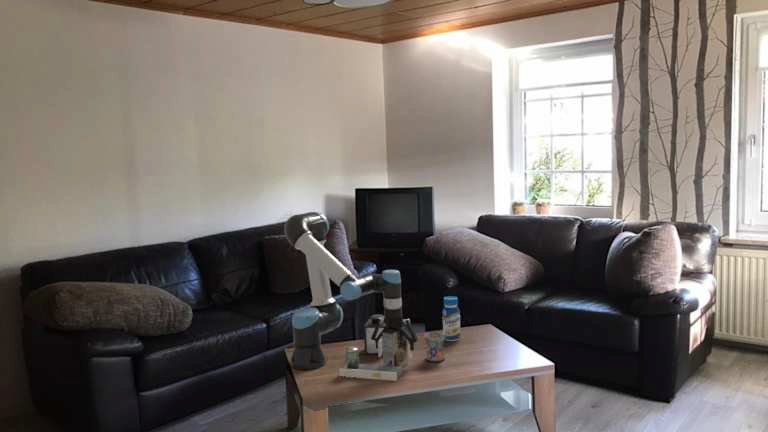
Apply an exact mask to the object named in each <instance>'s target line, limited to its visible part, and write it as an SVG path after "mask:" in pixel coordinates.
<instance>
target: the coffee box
mask: <svg viewBox="0 0 768 432" xmlns="http://www.w3.org/2000/svg"><path fill="white" fill-rule="evenodd" d="M404 328H405V330H406V331H407V329H406V328H407V327H404ZM382 346H383V355H382V360H383V361H382V363H383V365H382V366H393V367H403V368H404V366H407V365H408V343H407V339H406V337H405V336H404V335H403V334H402V332H401V331H399V330H398V329H397V330H394V329H392V330H391V329H389V328H388V329H387V330H383V331H382Z"/></svg>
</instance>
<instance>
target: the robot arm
mask: <svg viewBox="0 0 768 432" xmlns="http://www.w3.org/2000/svg"><path fill="white" fill-rule="evenodd" d="M283 229H284V231H283V233H284V235H285V238H286V239H287V241H288V242H289V244H290V245H291V246H292V247H294V249H296V250H300V251H301V252H302V253H303V254H305V259H306V266H307V272H308V277H309V283H310V284H309V285H310V291H311V295H312V301H311V303H310V305H309V306H310V307H305V308H301V309H298V310H296V311H295V312H294V313H293V314H292V316H291V317H292V318H291V319H292V321H291V325H292V337H293V339H292V340H293V350H292V354H291V358H290V367H291V368H293V369H295V368H296V370H301V369H308V370H314V369H313V368H315V369H318V367H319V368H321V367H323V366H325V365H326V364H325V363H327V359H326V358H327V357H326V353H325V351H324V349H323V346H322V339H321V337H322V336H323V335H325V334H327V333H329V332H332V331H335V330H336V329H337V328H339V327H340V326H341V324H342V323H343V320H344V312H343V308H342V307H341V306H340V305H339V304H338V303H337V300H336V299H335V298H334V297H333V295H332V289H331V284H330V283H331V282H330V280H331V281H333V283H334V284H335V285H336V286H338V287H339V289H340V290H339V293H340V295H341V297H342V298H343V299H344V300H346V301H353V300H357V299H359V298H360V297H361V298H362V297H363V296H366V295H369V294H371V293H372V292H373V293H382V295H383V307H384V309H383V314H384V315H383V316H384V319H382V318H381V317H380V318H378V319H377V325H376V328H375V330H374V332H373V335H372V337H371V340H375V342H376V349H378V355H377V356H378V358H381V356H382V357H383V355H382V342H381V340H379V339H380V338H381V337H382V331H383V330H387V329H388V328H389V329H391V330H392V329H394V330H397V329H398V330H399V331H401V332H402V334H403V335H404V336H405V337H406V341H408V343H407V356H408V360H411V359H412V357H413V351H414V349H415V344H414V343H417V342H418V341H419V338H418V336H417V333H416V332H415V330H414V328H413V325H412V324H411V319H410V318H407V319H406V318H405V319H404V318H403V308H402V306H403V301H402V300H403V299H402V279H401V273H400V271H399V270H397V269H386V270H383V271H382V273H381V274H376V273H368V272H367V273H360V274H359V275H358V276H357V277H356V276H355V275H354V274H353V273H352V272H351V271H350V270H349V269H347V268H346V267H345V266H344V265H343V264H342V263H341V262H340V261H339V260H338V258H336V257H335V256H334V255H333V254H331V252H330V251H329V250H327V249H326V248H325V246H324V244H325V243H326V242H327V236H326V235H327V234H328V232H329V230H330V223H329V221H328V219H327V217H326V216H325V215H324V214H323V213H322V212H319V211H309V212H304V213H300V214H293V215H292V216H290V217H289V218H288V219H286V222H285V224H284V228H283ZM383 322H384V323H385V324H386V326H385V327H384V329H383V330H382V331H381V333H380V334H379V335H378V337H376V335H377V333H378V330H379V328H380V325H381V324H382V323H383ZM403 324H404V325H405V326H406V327H405V326H404V325H403ZM405 328H407V329H406V330H405ZM324 364H325V365H324ZM320 366H321V367H320Z"/></svg>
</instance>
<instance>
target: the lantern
mask: <svg viewBox="0 0 768 432" xmlns="http://www.w3.org/2000/svg"><path fill="white" fill-rule="evenodd" d="M373 293H374V292H371V293H369V294H370V295H369V296H368V299H367V301H369V300H370V298H371V295H372V294H373ZM366 305H367V308H366V309H367V311H366V312H367V315H369V310H368V309H369V308H368V307H369V304H366ZM380 317H381V318H382V319H384V315H383V314H373V315H371V316H370V317H369V318H367V321H366V322H365V324H364V325H363V341H364V356H378V349H376V342H375V340H371V337H372V335H373V332H374V330H375V328H376V325H377V319H378V318H380ZM385 326H386V324H385V323H384V322H383V323H382V324H381V325H380V328H379V330H378V333H377V335H376V337H378V335H379V334H380V333H381V331H382V330H383V329H384V327H385ZM379 340H381V342H382V337H381V338H380V339H379ZM382 356H383V346H382Z"/></svg>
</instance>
